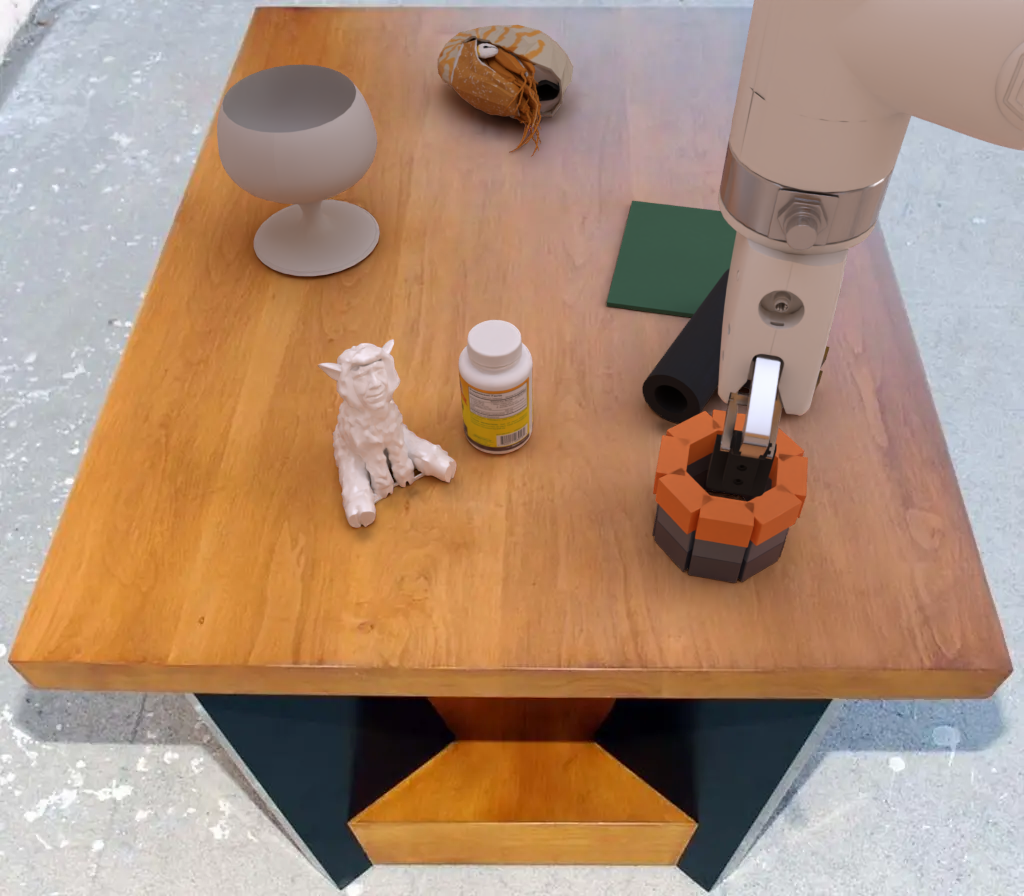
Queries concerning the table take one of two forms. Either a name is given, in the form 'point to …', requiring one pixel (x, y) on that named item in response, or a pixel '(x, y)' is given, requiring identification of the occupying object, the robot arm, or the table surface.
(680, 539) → the ring stack
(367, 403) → the white creature statuette
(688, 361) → the pipe connector
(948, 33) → the robot arm
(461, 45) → the nautilus
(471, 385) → the supplement bottle
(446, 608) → the table surface
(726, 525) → the orange ring
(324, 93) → the chalice
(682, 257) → the green mat
